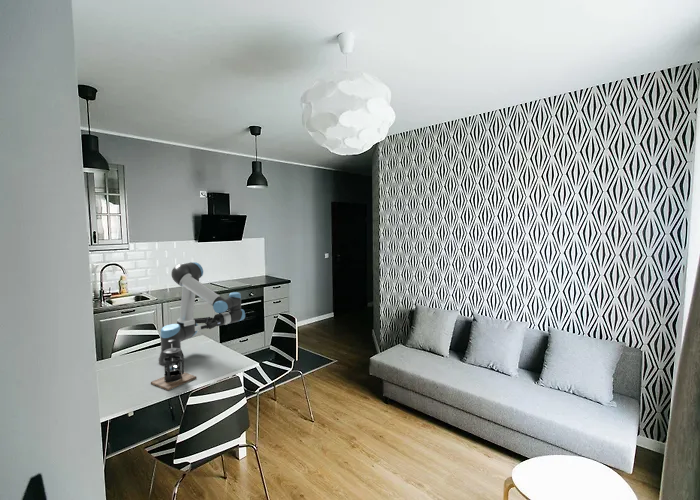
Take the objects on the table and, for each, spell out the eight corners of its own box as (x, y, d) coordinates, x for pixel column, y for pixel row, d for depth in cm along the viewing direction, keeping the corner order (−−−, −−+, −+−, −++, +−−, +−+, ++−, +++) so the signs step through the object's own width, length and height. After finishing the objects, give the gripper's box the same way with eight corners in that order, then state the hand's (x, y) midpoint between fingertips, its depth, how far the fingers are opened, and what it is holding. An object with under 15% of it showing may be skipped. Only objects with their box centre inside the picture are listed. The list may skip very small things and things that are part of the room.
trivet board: (150, 383, 207) (150, 381, 207) (179, 372, 222) (179, 370, 222) (168, 390, 199) (167, 388, 199) (196, 378, 214) (196, 376, 214)
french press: (159, 381, 206) (157, 342, 204) (169, 374, 216) (167, 337, 214) (179, 382, 205) (177, 343, 203) (187, 375, 215) (186, 337, 213)
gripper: (232, 328, 224) (199, 337, 208) (212, 321, 240) (180, 328, 224) (232, 317, 224) (199, 324, 208) (211, 310, 240) (179, 316, 224)
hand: (189, 326), depth 216 cm, fingers open, 13 cm apart
